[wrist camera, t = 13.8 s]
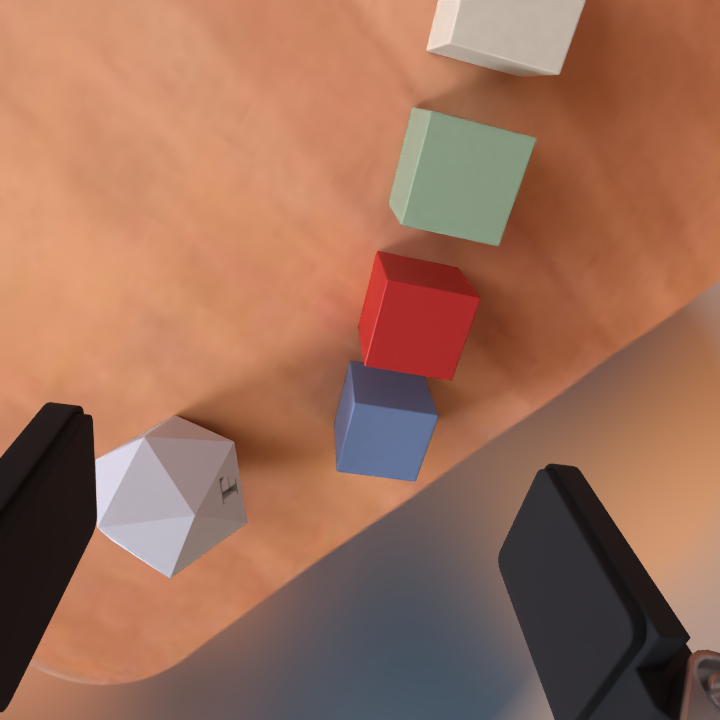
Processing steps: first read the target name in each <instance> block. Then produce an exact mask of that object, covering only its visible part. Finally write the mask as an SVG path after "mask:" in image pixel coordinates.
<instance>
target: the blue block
mask: <svg viewBox="0 0 720 720" xmlns="http://www.w3.org/2000/svg"><path fill="white" fill-rule="evenodd" d="M438 417H439V415H438V412H437V409H436V407H435V404H434V401H433V398H432V396H431V393H430V390H429V388H428V385H427V382H426V380H425V377H424V376H421V375H415V374H409V373H403V372H397V371H391V370H385V369H379V368H373V367H367V366H364V363H359V362H353V361H350V362H349V365H348V369H347V373H346V378H345V382H344V386H343V390H342V394H341V398H340V402H339V406H338V410H337V414H336V418H335V422H334V430H335V450H336V470H337V471H338V472H345V473H353V474H360V475H368V476H376V477H384V478H391V479H399V480H407V481H414V482H415V481H416V479H417V476H418V473H419V470H420V468H421V465H422V462H423V459H424V456H425V453H426V451H427V448H428V445H429V442H430V439H431V437H432V434H433V431H434V428H435V425H436V422H437V420H438Z"/></svg>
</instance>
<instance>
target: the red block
mask: <svg viewBox="0 0 720 720" xmlns="http://www.w3.org/2000/svg"><path fill="white" fill-rule="evenodd" d="M480 299H481V297H480V296H479V295H478V294H477V292H476V291H475V290H474V288H473V287H472V286H471V285H470V283H469V282H468V281H467V279H466V278H465V277H464V276H463V274H462V273H461V272H460V270H459V269H458V268H456V267H451V266H446V265H442V264H437V263H432V262H427V261H422V260H418V259H413V258H408V257H403V256H398V255H394V254H389V253H384V252H379V251H378V252H377V253H376V257H375V261H374V265H373V269H372V273H371V277H370V281H369V285H368V289H367V293H366V297H365V301H364V306H363V310H362V314H361V318H360V322H359V326H358V330H359V336H360V342H361V348H362V354H363V360H364V366H367V367H373V368H379V369H385V370H391V371H397V372H403V373H409V374H415V375H421V376H427V377H433V378H439V379H444V380H450V381H451V380H452V378H453V375H454V372H455V370H456V367H457V364H458V361H459V358H460V356H461V353H462V350H463V347H464V344H465V342H466V339H467V336H468V333H469V330H470V327H471V325H472V322H473V319H474V316H475V313H476V311H477V308H478V305H479V302H480Z"/></svg>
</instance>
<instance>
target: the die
mask: <svg viewBox="0 0 720 720" xmlns="http://www.w3.org/2000/svg"><path fill="white" fill-rule="evenodd" d="M96 489H97V528H98V529H99V530H100V531H101V532H103V533H104V534H105V535H106V536H107V537H108V538H110V539H111V540H112V541H114V542H115V543H117V544H118V545H120V546H121V547H123V548H124V549H126V550H127V551H129V552H130V553H132V554H133V555H135V556H136V557H138V558H139V559H141V560H142V561H144V562H145V563H147V564H148V565H150V566H152V567H153V568H155V569H156V570H158V571H159V572H161V573H162V574H164V575H165V576H167V577H168V578H171V577H173V576H174V575H176V574H177V573H178V572H180V571H181V570H183V569H184V568H185V567H187V566H188V565H189V564H191V563H192V562H194V561H195V560H196V559H198V558H199V557H201V556H202V555H203V554H205V553H206V552H207V551H209V550H210V549H212V548H213V547H214V546H216V545H217V544H218V543H220V542H221V541H223V540H224V539H225V538H227V537H228V536H230V535H231V534H232V533H234V532H235V531H236V530H238V529H239V528H241V527H242V526H243V525H245V524H246V523H247V518H246V511H245V505H244V499H243V493H242V486H241V480H240V474H239V468H238V461H237V455H236V449H235V443H234V441H231V440H229V439H227V438H225V437H223V436H220V435H218V434H216V433H214V432H211V431H209V430H207V429H205V428H203V427H200V426H198V425H196V424H194V423H191V422H189V421H187V420H185V419H183V418H180V417H178V416H176V415H174V416H172V417H170V418H169V419H167V420H165V421H163V422H161V423H160V424H158V425H156V426H154V427H153V428H151V429H149V430H147V431H146V432H144V433H142V434H140V435H138V436H137V437H135V438H133V439H131V440H130V441H128V442H126V443H124V444H123V445H121V446H119V447H117V448H115V449H114V450H112V451H110V452H108V453H107V454H105V455H103V456H101V457H100V458H98V459H96Z"/></svg>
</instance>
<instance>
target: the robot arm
mask: <svg viewBox="0 0 720 720" xmlns="http://www.w3.org/2000/svg"><path fill="white" fill-rule="evenodd" d="M96 521H97V500H96V478H95V457H94V435H93V419H92V416H91V415H87V414H84V412H83V409H82V407H81V406H76V405H68V404H60V403H52V402H49V403H46V404H45V405H44V406H43V407H42V408H41V410H40V411H39V412H38V413H37V414H36V416H35V417H34V418H33V419H32V420H31V422H30V423H29V424H28V425H27V426H26V428H25V429H24V430H23V431H22V433H21V434H20V435H19V436H18V437H17V439H16V440H15V441H14V442H13V443H12V445H11V446H10V447H9V448H8V449H7V451H6V452H5V453H4V454H3V455H2V457H1V458H0V712H3V711H4V710H5V709H6V708H7V706H8V705H9V703H10V701H11V699H12V698H13V695H14V693H15V691H16V689H17V687H18V685H19V683H20V681H21V679H22V677H23V675H24V673H25V671H26V669H27V667H28V665H29V663H30V661H31V659H32V657H33V655H34V653H35V651H36V649H37V647H38V645H39V643H40V641H41V639H42V636H43V634H44V632H45V630H46V628H47V626H48V624H49V622H50V620H51V618H52V616H53V614H54V612H55V610H56V608H57V606H58V604H59V602H60V600H61V598H62V596H63V594H64V592H65V590H66V588H67V586H68V584H69V582H70V579H71V577H72V575H73V573H74V571H75V569H76V567H77V565H78V563H79V561H80V559H81V557H82V555H83V553H84V551H85V549H86V547H87V545H88V543H89V541H90V539H91V537H92V535H93V532H94V529H95V526H96ZM498 562H499V568H500V572H501V574H502V577H503V580H504V582H505V585H506V588H507V591H508V594H509V596H510V599H511V602H512V604H513V607H514V610H515V612H516V615H517V618H518V621H519V623H520V626H521V629H522V631H523V634H524V637H525V640H526V642H527V645H528V648H529V651H530V653H531V656H532V659H533V662H534V664H535V667H536V670H537V673H538V675H539V678H540V681H541V683H542V686H543V689H544V692H545V694H546V697H547V700H548V702H549V705H550V708H551V711H552V713H553V716H554V719H555V720H720V653H718V652H714V651H710V650H698V651H696V652H694V653H693V654H692V652H691V651H690V649H689V648H688V646H687V645H686V643H687V642H688V640H689V639H690V636H689V635H688V633H687V632H686V630H685V629H684V627H683V626H682V624H681V623H680V621H679V620H678V618H677V617H676V615H675V613H674V612H673V611H672V609H671V607H670V606H669V604H668V603H667V601H666V600H665V598H664V597H663V595H662V594H661V592H660V591H659V589H658V588H657V586H656V585H655V583H654V582H653V580H652V579H651V577H650V576H649V574H648V573H647V571H646V570H645V568H644V567H643V565H642V564H641V562H640V561H639V559H638V558H637V556H636V555H635V553H634V552H633V550H632V548H631V547H630V545H629V544H628V543H627V541H626V539H625V538H624V536H623V535H622V533H621V532H620V530H619V529H618V527H617V526H616V524H615V523H614V522H613V520H612V518H611V517H610V515H609V514H608V512H607V511H606V510H605V508H604V506H603V505H602V503H601V502H600V500H599V499H598V497H597V496H596V494H595V493H594V491H593V490H592V488H591V487H590V485H589V484H588V482H587V480H586V479H585V478H584V476H583V474H582V473H581V471H580V470H579V469H578V468H577V467H574V466H567V465H559V464H548V465H547V466H546V467H545V469H540V470H539V471H538V472H537V474H536V476H535V478H534V480H533V482H532V485H531V487H530V489H529V491H528V493H527V495H526V497H525V499H524V501H523V504H522V506H521V508H520V510H519V512H518V514H517V516H516V518H515V520H514V522H513V525H512V527H511V529H510V531H509V533H508V535H507V537H506V539H505V541H504V544H503V546H502V548H501V550H500V553H499V557H498Z"/></svg>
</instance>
